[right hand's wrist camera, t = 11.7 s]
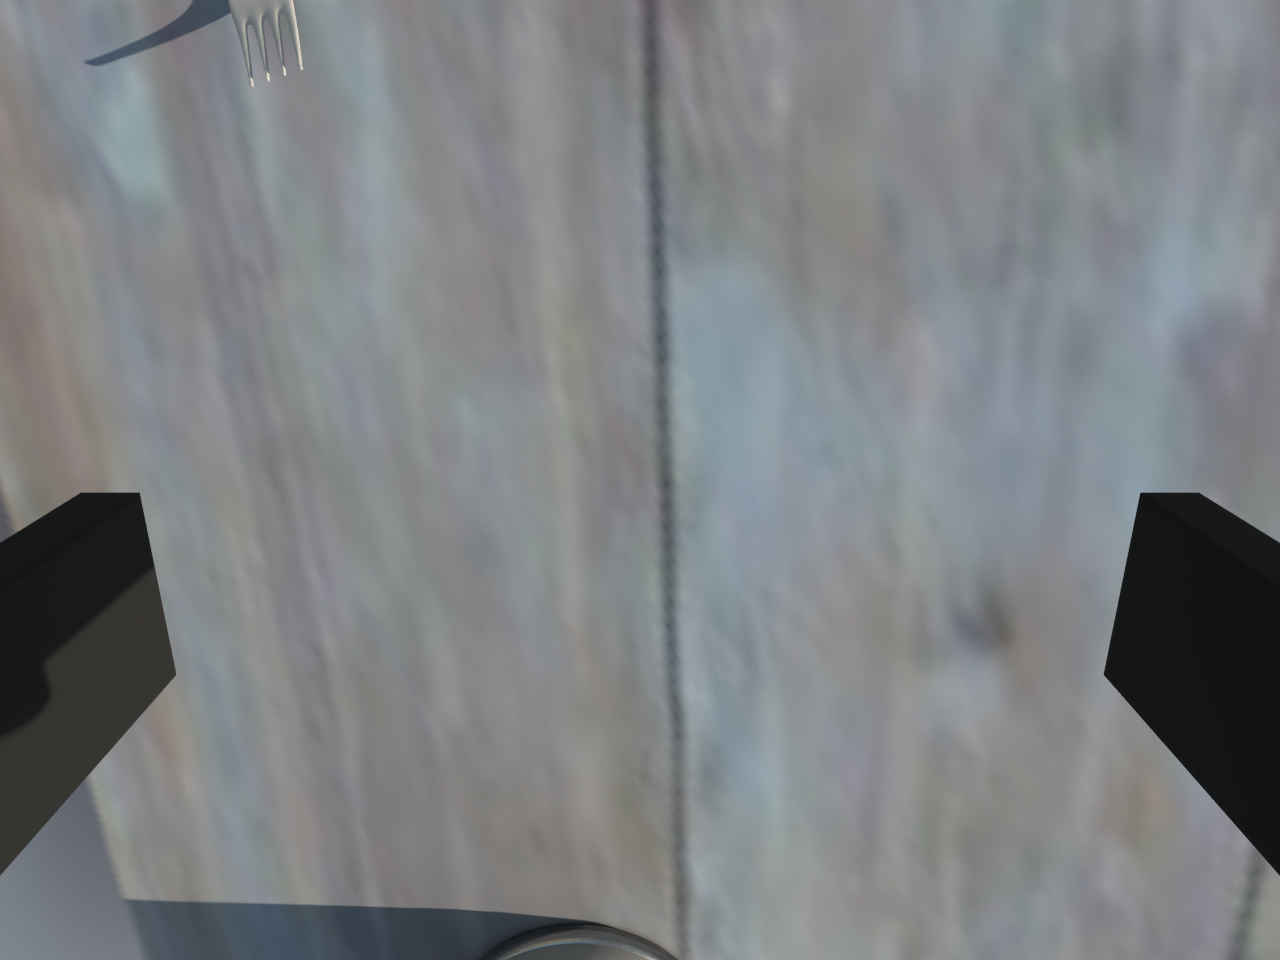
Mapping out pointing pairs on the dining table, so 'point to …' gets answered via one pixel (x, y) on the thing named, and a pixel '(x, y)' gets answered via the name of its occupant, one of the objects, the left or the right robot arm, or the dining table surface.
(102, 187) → the dining table surface
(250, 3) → the fork
